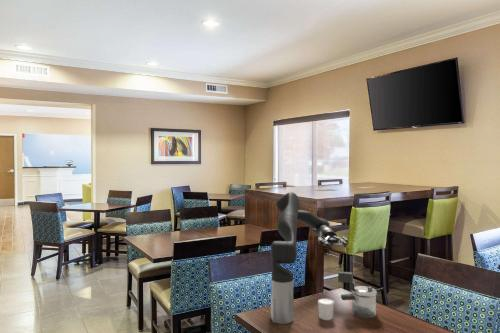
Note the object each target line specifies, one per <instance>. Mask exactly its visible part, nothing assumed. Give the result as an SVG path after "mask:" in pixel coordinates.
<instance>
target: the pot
mask: <svg viewBox="0 0 500 333" xmlns="http://www.w3.org/2000/svg"><path fill="white" fill-rule="evenodd" d="M340 298H341V299H342V301H351V302H352V304H351V306H352V307H351V312H352V314H353V315H354V316H356V317H359V318H363V319H372V318H374V317H376V316H377V295H376V296H373V297H362V296H357V295H355V294H353V293H352V292H351V293H345V294H341V295H340Z"/></svg>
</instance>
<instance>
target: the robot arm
mask: <svg viewBox="0 0 500 333" xmlns="http://www.w3.org/2000/svg"><path fill="white" fill-rule="evenodd" d="M300 204H301V202H300V199H299V196H298V195H297V194H296V193H295V192H294V191H293V192H292V191H290V192H287V193H285V194H284V195H282V196H281V197H280V198H278V200H276V208H277V209H278V211H280V215H279V217H278V221H277V231H278V233H279V235H280V236H281V237H282V238H283V239H284V240H283V241H282V240H273V241H272V242H271V246H270V259H271V260H270V262H271V295H270V319H271V321H272V323H273V324H281V325H285V324H286V325H287V324H290V323H291V324H292V323H293V321H294V273H293V271H291V270H289V269H287V268H286V267H283V266H282V265H280V264H285V265H286V264H288V265H290V264H291V265H292V264H295V263H296V260H297V257H298V256H297V254H298V247H297V233H298V221H300V222H301V223H303V224H304V225H306V226H307V227H309V228H311V229H312V230H311V231H312V233H313V234H314V235H315V236H316V237H317V242H318V244H319V245H320V246H325V248H329V246H333V245H338V246H340V245H342V247H343V248H346V247H347V245H349V239H348V238H347V237H346V236H342V237H339V236H338V234H337V233H336V232H335V231H334V230H333V229H332V228H330V223H329V221H328V220H327V219H325V218H322V217H319V216H316V215H315V214H313V213H312V212H311V211H307V210H300Z"/></svg>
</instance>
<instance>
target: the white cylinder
mask: <svg viewBox="0 0 500 333" xmlns="http://www.w3.org/2000/svg"><path fill="white" fill-rule="evenodd" d="M334 303H335V301H334V300H333V299H330V298H319V299H318V300H317V307H318V318H319V319H321V320H323V321H331V320H333V318H334V317H333V316H334V307H335V304H334Z"/></svg>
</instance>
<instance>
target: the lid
mask: <svg viewBox="0 0 500 333" xmlns="http://www.w3.org/2000/svg"><path fill="white" fill-rule="evenodd" d="M337 275H338V276H337V282H339V283H346V284H347V283H349V290H350V291H351V294H352V293H353V294H355V295H357V296H362V297H373V296H376V297H377V294H378V291H377V289H375V288H373V286H365V285H356V283H355V281H354V280H353V272H350V271H338V272H337Z"/></svg>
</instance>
